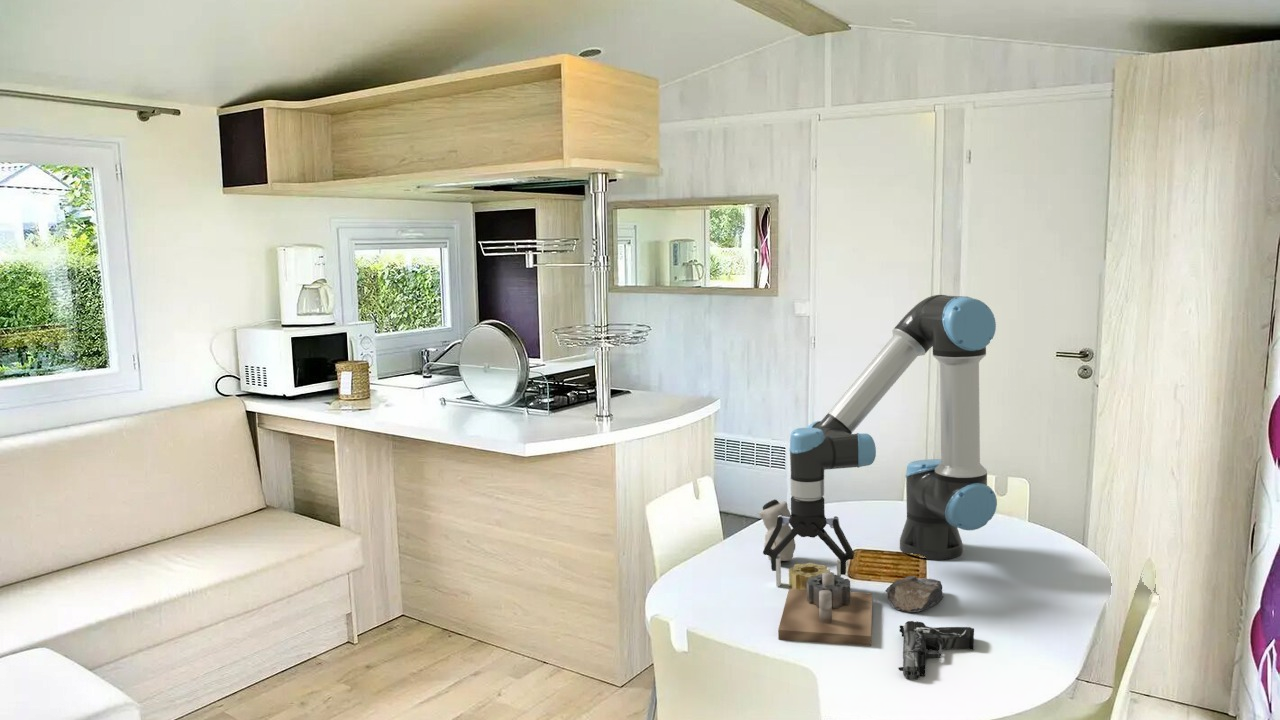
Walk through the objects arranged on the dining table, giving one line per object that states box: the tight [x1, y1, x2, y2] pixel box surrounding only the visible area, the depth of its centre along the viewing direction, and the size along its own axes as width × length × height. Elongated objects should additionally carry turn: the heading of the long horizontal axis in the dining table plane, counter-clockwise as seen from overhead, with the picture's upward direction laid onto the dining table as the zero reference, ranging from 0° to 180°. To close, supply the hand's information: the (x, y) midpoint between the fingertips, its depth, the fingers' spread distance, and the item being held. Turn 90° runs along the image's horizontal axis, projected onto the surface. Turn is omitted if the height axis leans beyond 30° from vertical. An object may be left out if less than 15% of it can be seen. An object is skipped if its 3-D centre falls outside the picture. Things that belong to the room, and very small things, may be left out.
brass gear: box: [788, 562, 831, 590], centre depth 208 cm, size 9×9×4 cm
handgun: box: [897, 620, 975, 681], centre depth 171 cm, size 20×3×14 cm
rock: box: [885, 575, 944, 613], centre depth 197 cm, size 14×11×5 cm
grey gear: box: [807, 574, 851, 608], centre depth 194 cm, size 9×9×4 cm
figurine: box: [758, 499, 796, 562], centre depth 225 cm, size 9×10×15 cm
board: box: [777, 571, 873, 647], centre depth 189 cm, size 18×22×8 cm
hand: (808, 586), depth 208 cm, fingers open, 13 cm apart
